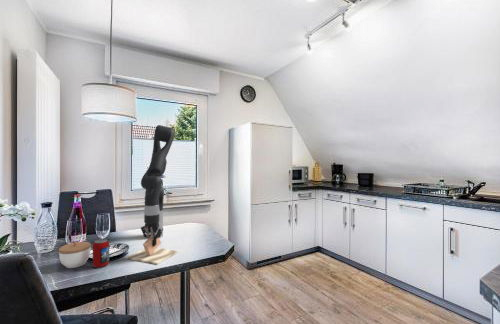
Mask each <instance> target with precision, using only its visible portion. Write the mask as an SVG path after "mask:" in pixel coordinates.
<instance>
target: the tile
mask: <svg viewBox="0 0 500 324" xmlns="http://www.w3.org/2000/svg"><path fill="white" fill-rule="evenodd" d="M154 237H155V235H154ZM152 240H153V239H152V235H151V236H150V237H149V238H148V239H146V240H145V242H143V243H142V246H143V249H145V251H146V254H147V255H151V254H152V253H153V252H154V251H155V249H156V248H159V246H160V245H161V244H162V243H161V242H162V241H161V239H160V237H159V238H157V244H156V246H154V247H153V246H152Z"/></svg>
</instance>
